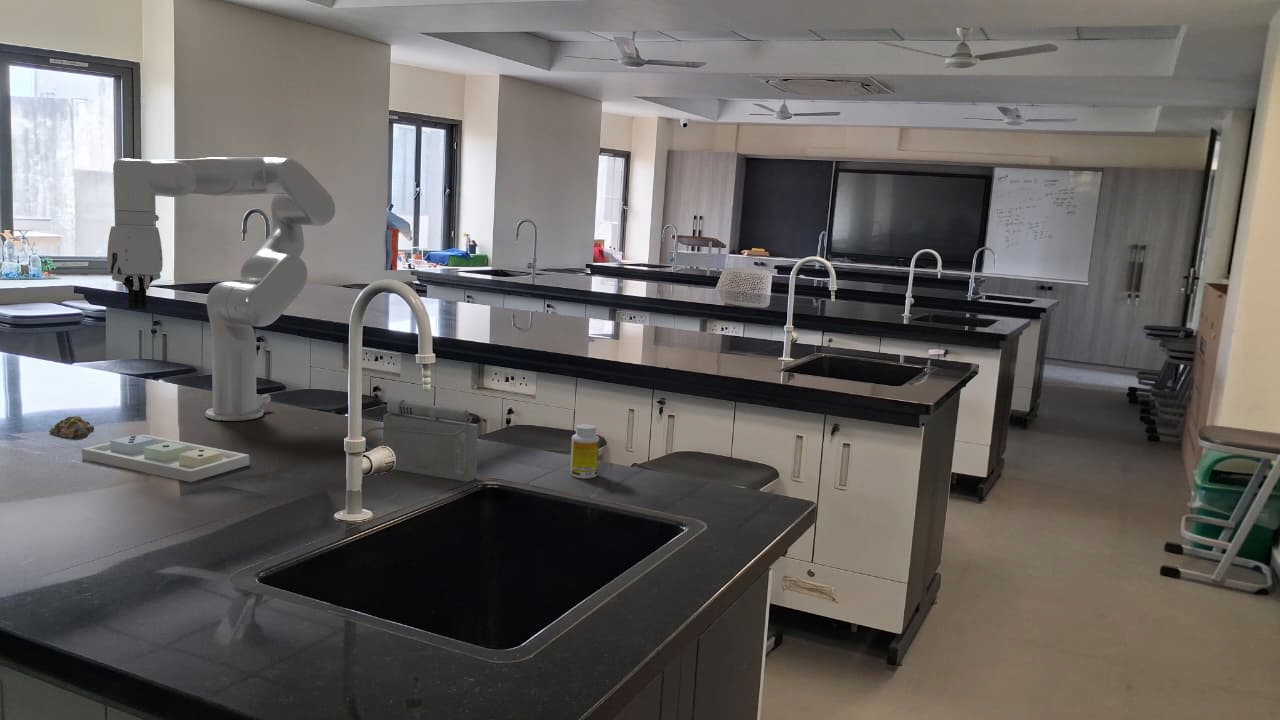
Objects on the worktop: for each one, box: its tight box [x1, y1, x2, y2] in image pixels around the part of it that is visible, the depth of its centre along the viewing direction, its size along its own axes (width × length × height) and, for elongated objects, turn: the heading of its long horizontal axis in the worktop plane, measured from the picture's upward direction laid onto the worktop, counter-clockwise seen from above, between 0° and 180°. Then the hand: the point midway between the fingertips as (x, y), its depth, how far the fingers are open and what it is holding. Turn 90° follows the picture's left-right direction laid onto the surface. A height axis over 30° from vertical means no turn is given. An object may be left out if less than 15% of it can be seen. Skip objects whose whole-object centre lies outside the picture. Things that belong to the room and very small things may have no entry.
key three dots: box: [110, 434, 154, 455], centre depth 187 cm, size 5×5×2 cm
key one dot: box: [144, 442, 188, 462], centre depth 184 cm, size 5×5×2 cm
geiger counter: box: [362, 398, 479, 482], centre depth 186 cm, size 14×6×25 cm
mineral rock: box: [48, 415, 95, 439], centre depth 201 cm, size 11×4×8 cm
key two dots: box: [179, 448, 223, 468], centre depth 180 cm, size 5×5×2 cm
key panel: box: [81, 434, 250, 483], centre depth 184 cm, size 14×28×2 cm, turn 68°
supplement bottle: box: [569, 423, 600, 480], centre depth 191 cm, size 6×6×10 cm
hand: (137, 308), depth 199 cm, fingers closed
